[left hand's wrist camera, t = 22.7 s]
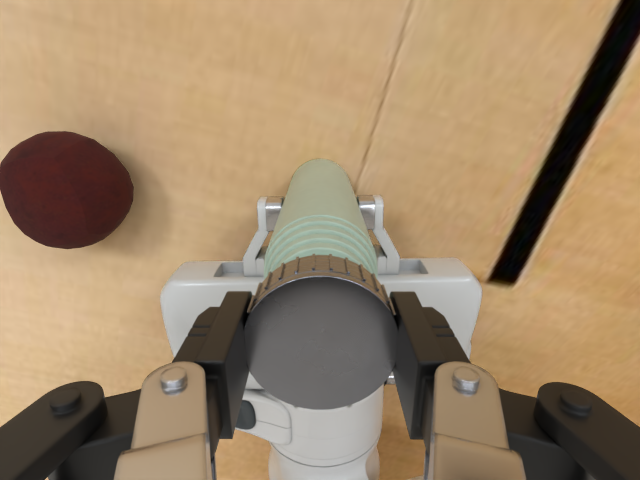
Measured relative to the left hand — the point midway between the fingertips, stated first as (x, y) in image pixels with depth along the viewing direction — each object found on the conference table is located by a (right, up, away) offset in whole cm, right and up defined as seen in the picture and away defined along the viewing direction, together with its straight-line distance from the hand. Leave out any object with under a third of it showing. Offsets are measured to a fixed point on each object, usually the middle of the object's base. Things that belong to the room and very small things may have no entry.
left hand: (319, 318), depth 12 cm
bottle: (0, +6, +18) cm, 19 cm away
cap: (0, 0, -1) cm, 1 cm away
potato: (-17, +7, +17) cm, 25 cm away
